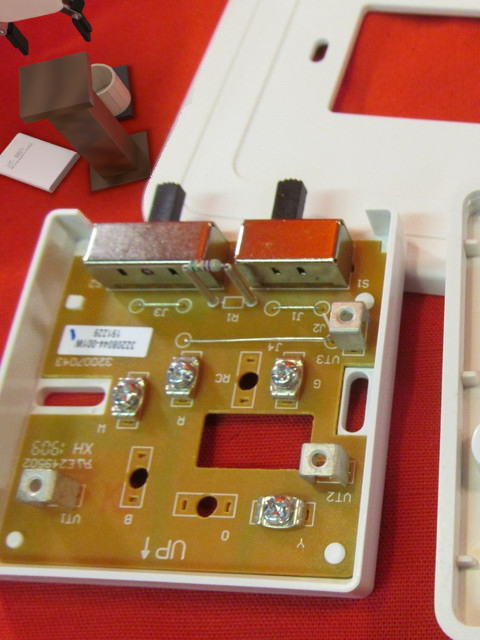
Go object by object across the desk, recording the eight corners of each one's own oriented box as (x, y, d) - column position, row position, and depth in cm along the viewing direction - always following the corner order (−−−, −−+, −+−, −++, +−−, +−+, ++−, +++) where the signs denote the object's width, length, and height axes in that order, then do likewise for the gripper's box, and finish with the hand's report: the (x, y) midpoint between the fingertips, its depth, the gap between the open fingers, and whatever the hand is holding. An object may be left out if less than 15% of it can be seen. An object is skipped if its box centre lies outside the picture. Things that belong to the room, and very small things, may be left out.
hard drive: (54, 195, 115) (-4, 173, 117) (82, 158, 118) (25, 137, 120) (48, 189, 113) (-11, 167, 116) (76, 151, 116) (18, 131, 118)
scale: (73, 135, 119) (62, 123, 117) (70, 81, 124) (59, 68, 121) (135, 119, 120) (126, 107, 117) (130, 66, 125) (121, 53, 122)
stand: (94, 194, 115) (19, 118, 98) (91, 148, 118) (18, 67, 101) (153, 179, 115) (89, 100, 98) (148, 134, 119) (85, 51, 102)
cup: (90, 122, 118) (72, 101, 114) (88, 91, 121) (70, 69, 116) (132, 112, 119) (116, 90, 114) (129, 81, 122) (113, 59, 117)
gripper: (43, -93, 94) (111, 14, 110) (-87, -68, 93) (1, 37, 109) (44, -57, 91) (114, 47, 107) (-89, -30, 90) (2, 71, 106)
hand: (57, 42), depth 108 cm, fingers open, 9 cm apart
